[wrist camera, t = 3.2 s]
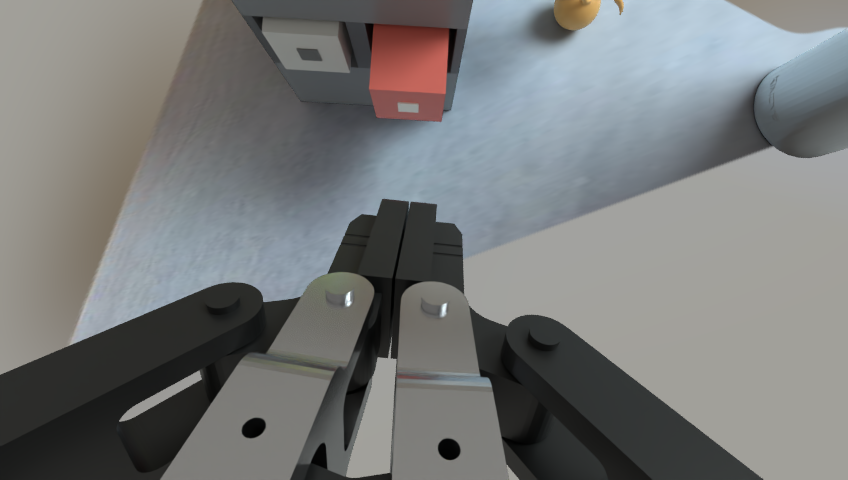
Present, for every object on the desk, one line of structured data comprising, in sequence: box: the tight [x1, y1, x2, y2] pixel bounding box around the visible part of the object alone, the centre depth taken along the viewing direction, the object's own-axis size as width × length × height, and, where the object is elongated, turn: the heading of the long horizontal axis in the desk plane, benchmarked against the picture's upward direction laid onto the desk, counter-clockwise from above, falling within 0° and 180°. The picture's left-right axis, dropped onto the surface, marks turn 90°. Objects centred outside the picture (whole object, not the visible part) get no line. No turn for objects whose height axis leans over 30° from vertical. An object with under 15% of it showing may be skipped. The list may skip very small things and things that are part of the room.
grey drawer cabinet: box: [232, 0, 473, 110], centre depth 30 cm, size 14×8×18 cm, turn 87°
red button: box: [369, 24, 449, 122], centre depth 29 cm, size 5×6×5 cm
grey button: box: [262, 17, 352, 73], centre depth 29 cm, size 5×6×5 cm
